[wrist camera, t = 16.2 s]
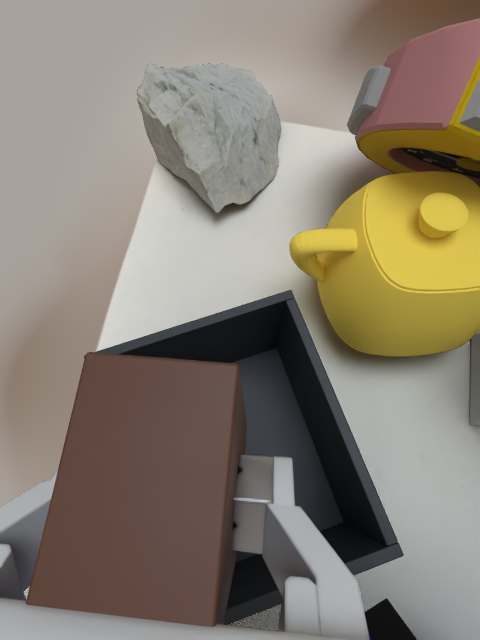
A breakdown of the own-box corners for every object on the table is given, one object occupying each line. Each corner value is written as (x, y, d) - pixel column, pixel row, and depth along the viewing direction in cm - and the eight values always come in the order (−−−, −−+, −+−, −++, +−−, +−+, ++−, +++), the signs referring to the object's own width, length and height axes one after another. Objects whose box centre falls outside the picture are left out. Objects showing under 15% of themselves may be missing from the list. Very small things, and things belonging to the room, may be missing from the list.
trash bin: (352, 526, 29) (404, 555, 19) (181, 591, 28) (140, 658, 18) (280, 341, 34) (291, 289, 24) (134, 389, 33) (83, 355, 23)
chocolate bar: (247, 423, 17) (240, 362, 7) (236, 557, 15) (208, 704, 6) (178, 417, 17) (85, 350, 7) (159, 549, 15) (5, 677, 6)
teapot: (525, 361, 33) (675, 300, 21) (287, 372, 33) (305, 319, 21) (482, 226, 37) (584, 117, 26) (275, 237, 38) (284, 134, 26)
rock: (320, 131, 42) (330, 60, 35) (227, 232, 39) (217, 176, 31) (214, 75, 46) (203, 1, 39) (122, 162, 43) (91, 98, 35)
